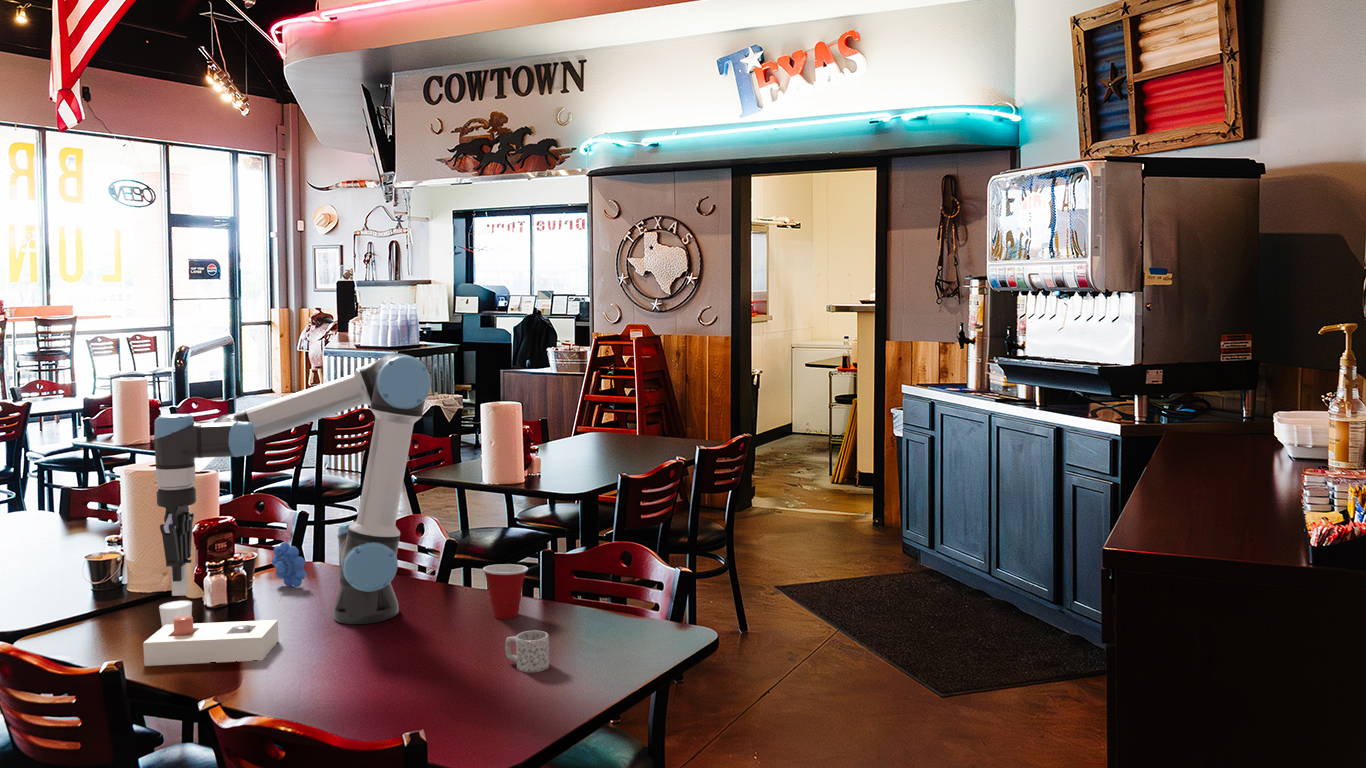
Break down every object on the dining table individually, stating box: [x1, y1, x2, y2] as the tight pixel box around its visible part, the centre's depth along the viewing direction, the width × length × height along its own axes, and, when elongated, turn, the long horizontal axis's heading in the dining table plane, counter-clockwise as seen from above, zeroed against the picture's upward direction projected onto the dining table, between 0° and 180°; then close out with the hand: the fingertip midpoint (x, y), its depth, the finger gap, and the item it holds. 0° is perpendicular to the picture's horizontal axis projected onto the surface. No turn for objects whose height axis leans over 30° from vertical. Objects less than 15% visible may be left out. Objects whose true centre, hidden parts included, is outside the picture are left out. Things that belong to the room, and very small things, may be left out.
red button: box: [173, 615, 194, 636], centre depth 219 cm, size 4×4×5 cm
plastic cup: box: [482, 563, 529, 620], centre depth 245 cm, size 11×11×12 cm
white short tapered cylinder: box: [158, 599, 193, 628], centre depth 234 cm, size 7×7×7 cm
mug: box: [504, 630, 550, 674], centre depth 211 cm, size 10×7×7 cm, turn 66°
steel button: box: [232, 625, 251, 634], centre depth 221 cm, size 4×4×5 cm
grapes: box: [271, 541, 307, 588], centre depth 271 cm, size 12×7×12 cm, turn 63°
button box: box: [142, 619, 280, 667], centre depth 220 cm, size 24×12×5 cm, turn 97°
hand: (179, 594), depth 219 cm, fingers closed
